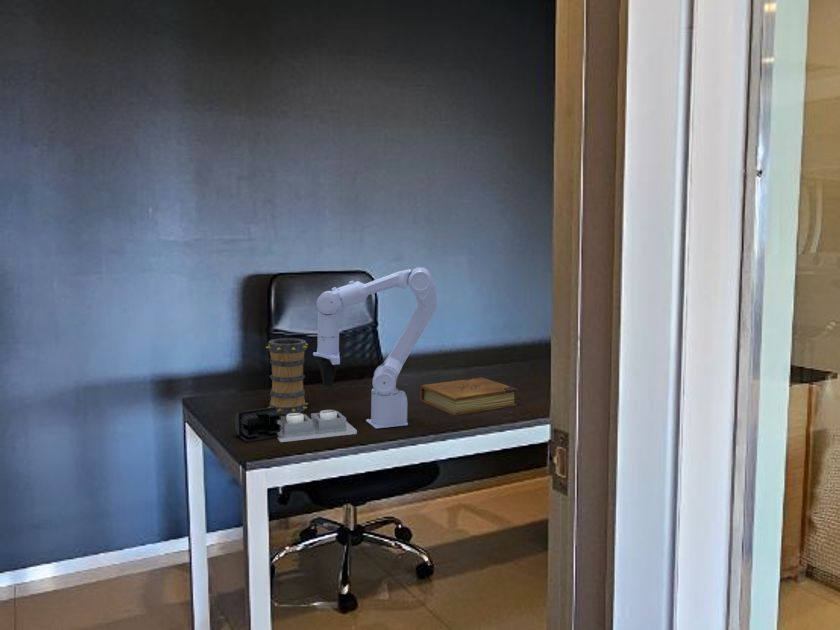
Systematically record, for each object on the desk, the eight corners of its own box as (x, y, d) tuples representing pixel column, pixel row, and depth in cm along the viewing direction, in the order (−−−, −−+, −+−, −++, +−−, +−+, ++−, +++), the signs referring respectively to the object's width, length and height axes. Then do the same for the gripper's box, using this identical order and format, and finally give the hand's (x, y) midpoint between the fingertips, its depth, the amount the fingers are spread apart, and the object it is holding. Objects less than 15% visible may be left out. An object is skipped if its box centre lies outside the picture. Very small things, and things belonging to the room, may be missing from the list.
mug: (273, 417, 205) (272, 346, 202) (255, 403, 220) (254, 337, 217) (316, 412, 211) (316, 343, 209) (296, 398, 226) (296, 334, 224)
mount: (340, 419, 204) (340, 407, 203) (356, 433, 191) (356, 420, 191) (268, 427, 196) (268, 414, 195) (280, 442, 183) (280, 428, 183)
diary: (479, 394, 238) (480, 376, 238) (516, 407, 223) (517, 389, 222) (419, 402, 226) (420, 383, 226) (454, 416, 211) (455, 397, 210)
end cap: (271, 429, 194) (271, 404, 193) (282, 436, 188) (282, 410, 187) (234, 435, 188) (234, 409, 187) (245, 442, 182) (244, 416, 181)
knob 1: (301, 427, 195) (301, 411, 194) (305, 432, 191) (305, 416, 190) (284, 429, 193) (284, 413, 192) (288, 434, 189) (288, 417, 188)
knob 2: (333, 424, 198) (334, 408, 198) (338, 428, 194) (339, 413, 194) (318, 426, 196) (318, 410, 196) (322, 430, 192) (322, 414, 192)
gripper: (306, 332, 202) (306, 380, 204) (321, 341, 189) (321, 393, 191) (331, 331, 205) (330, 379, 207) (347, 340, 192) (347, 391, 194)
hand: (327, 385), depth 199 cm, fingers closed
